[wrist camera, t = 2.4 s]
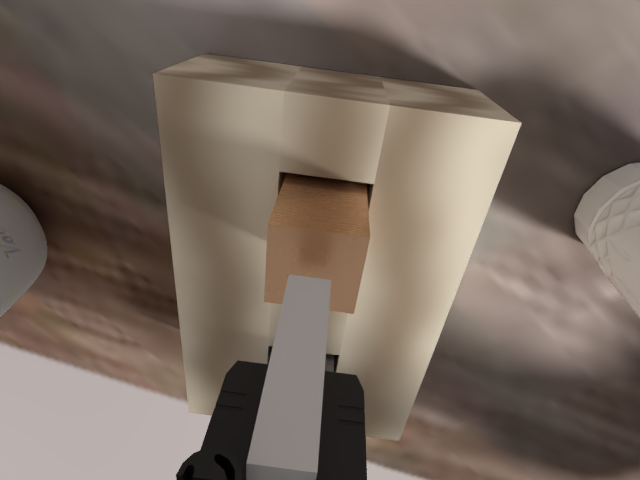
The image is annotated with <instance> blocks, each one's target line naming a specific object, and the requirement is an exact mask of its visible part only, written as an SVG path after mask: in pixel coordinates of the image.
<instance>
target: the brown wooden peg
mask: <svg viewBox="0 0 640 480" xmlns="http://www.w3.org/2000/svg"><path fill="white" fill-rule="evenodd" d="M369 241H370V227H369V213H368V198H367V184H366V183H361V182H354V181H347V180H339V179H332V178H324V177H317V176H309V175H302V174H294V173H287V174H286V176H285V179H284V182H283V184H282V187H281V190H280V192H279V195H278V198H277V200H276V203H275V206H274V208H273V211H272V214H271V216H270V219H269V222H268V227H267V248H266V269H265V290H264V302H268V303H275V304H282V303H283V298H284V294H285V289H286V285H287V281H288V276H289V274H290V275H298V276H306V277H313V278H321V279H328V280H331V290H330V304H329V311H335V312H342V313H349V314H354V311H355V307H356V302H357V297H358V293H359V288H360V283H361V279H362V274H363V269H364V264H365V260H366V255H367V250H368V246H369Z"/></svg>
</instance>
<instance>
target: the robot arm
mask: <svg viewBox="0 0 640 480" xmlns="http://www.w3.org/2000/svg"><path fill="white" fill-rule="evenodd" d="M330 290H331V280H328V279H321V278H313V277H306V276H298V275H290V274H289V276H288V281H287V285H286V289H285V294H284V298H283V303H282V307H281V312H280V316H279V321H278V325H277V329H276V334H275V338H274V343H273V347H272V352H271V356H270V361H269V364H262V363H254V362H247V361H239V360H237V362H236V363H235V364H234V365H233V366H232V367H231V368H230V370H229V371H228V372H227V373H226V375H225V378H224V381H223V384H222V387H221V390H220V394H219V396H218V399H217V402H216V406H215V408H214V411H213V414H212V417H211V420H210V423H209V426H208V429H207V432H206V435H205V438H204V441H203V445H202V447H201V450H200V451H198V452H196V453H193V454H192V455H191V456H190V457H189V458H188V459H187V460H186V461H185V462H184V463H183V464H182V466H181V467H180V469H179V471H178V473H177V474H176V477H177V480H367V468H366V436H365V412H364V409H365V403H364V390H363V388H362V385H361V383H360V381H359V379H358V377H357V375H353V374H345V373H337V372H330V371H325V360H326V346H327V332H328V318H329V304H330Z"/></svg>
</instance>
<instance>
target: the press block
mask: <svg viewBox="0 0 640 480" xmlns="http://www.w3.org/2000/svg"><path fill="white" fill-rule="evenodd" d="M153 83H154V92H155V101H156V111H157V120H158V129H159V138H160V148H161V157H162V166H163V176H164V185H165V194H166V204H167V213H168V222H169V231H170V241H171V250H172V259H173V269H174V278H175V287H176V297H177V306H178V315H179V324H180V334H181V343H182V352H183V362H184V371H185V380H186V390H187V399H188V408H189V412H191V413H198V414H205V415H212V414H213V411H214V408H215V406H216V402H217V399H218V396H219V394H220V390H221V387H222V384H223V381H224V378H225V375H226V373H227V372H228V371H229V370H230V368H231V367H232V366H233V365H234V364H235V363H236V362H237V360H239V361H247V362H254V363H262V364H269V361H270V356H271V352H272V347H273V343H274V338H275V334H276V329H277V325H278V321H279V316H280V312H281V307H282V304H275V303H268V302H264V290H265V269H266V248H267V227H268V222H269V219H270V216H271V214H272V211H273V208H274V206H275V203H276V200H277V198H278V195H279V192H280V190H281V187H282V184H283V182H284V179H285V176H286V174H287V173H294V174H302V175H309V176H317V177H324V178H332V179H339V180H347V181H354V182H361V183H366V184H367V198H368V213H369V227H370V241H369V246H368V250H367V255H366V260H365V264H364V269H363V274H362V279H361V283H360V288H359V293H358V297H357V302H356V307H355V311H354V314H349V313H342V312H335V311H329V318H328V332H327V346H326V354H333V355H334V372H337V373H345V374H353V375H357V377H358V379H359V381H360V383H361V385H362V388H363V390H364V403H365V409H364V412H365V436H368V437H375V438H383V439H390V440H397V441H399V440H400V437H401V435H402V432H403V430H404V427H405V424H406V422H407V419H408V417H409V414H410V411H411V409H412V406H413V404H414V401H415V398H416V396H417V393H418V391H419V388H420V386H421V383H422V380H423V378H424V375H425V373H426V370H427V367H428V365H429V362H430V360H431V357H432V354H433V352H434V349H435V347H436V344H437V341H438V339H439V336H440V334H441V331H442V328H443V326H444V323H445V321H446V318H447V316H448V313H449V310H450V308H451V305H452V303H453V300H454V297H455V295H456V292H457V290H458V287H459V284H460V282H461V279H462V277H463V274H464V271H465V269H466V266H467V264H468V261H469V259H470V256H471V253H472V251H473V248H474V246H475V243H476V240H477V238H478V235H479V233H480V230H481V227H482V225H483V222H484V220H485V217H486V214H487V212H488V209H489V207H490V204H491V201H492V199H493V196H494V194H495V191H496V189H497V186H498V183H499V181H500V178H501V176H502V173H503V170H504V168H505V165H506V163H507V160H508V157H509V155H510V152H511V150H512V147H513V144H514V142H515V139H516V137H517V134H518V131H519V129H520V126H521V124H522V123H521V122H520V121H519V120H517V119H516V118H515V117H513V116H512V115H511V114H509V113H508V112H507V111H505V110H504V109H503V108H501V107H500V106H499V105H497V104H496V103H495V102H493V101H492V100H491V99H489V98H488V97H487V96H485V95H484V94H483V93H481V92H480V91H479V90H475V89H467V88H460V87H452V86H445V85H437V84H430V83H422V82H415V81H407V80H400V79H392V78H385V77H377V76H370V75H362V74H355V73H347V72H340V71H332V70H325V69H317V68H310V67H302V66H295V65H288V64H280V63H273V62H265V61H258V60H250V59H243V58H235V57H228V56H220V55H213V54H202V55H199V56H197V57H194V58H192V59H189V60H186V61H184V62H181V63H179V64H176V65H173V66H171V67H168V68H166V69H163V70H160V71H158V72H155V73H153Z"/></svg>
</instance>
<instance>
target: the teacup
mask: <svg viewBox="0 0 640 480" xmlns="http://www.w3.org/2000/svg"><path fill="white" fill-rule="evenodd" d="M47 250H48V248H47V241H46V237H45V234H44V231H43V229H42V227H41V225H40V223H39V221H38V219H37V217H36V216H35V214H34V213H33V211H32V210H31V209H30V207H29V206H28V205H27V204H26V203H25V202H24V201H23V200H22V199H21V198H20V197H19V196H18V195H16V194H15V193H14V192H12V191H11V190H9V189H8V188H6V187H5V186H3V185H1V184H0V317H1V316H2V315H3V314H4V313H5V312H6V311H7V310H8V309H9V308H10V307H11V306H12V305H13V304H14V303H15V302H16V301H17V300H18V299H19V298H20V297H21V296H22V295H23V294H24V293H25V292H26V291H27V290H28V289H29V287H30V286H31V285H32V284H33V283H34V282H35V281H36V279H37V278H38V277H39V275H40V274H41V272H42V270H43V268H44V266H45V263H46V259H47Z"/></svg>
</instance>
